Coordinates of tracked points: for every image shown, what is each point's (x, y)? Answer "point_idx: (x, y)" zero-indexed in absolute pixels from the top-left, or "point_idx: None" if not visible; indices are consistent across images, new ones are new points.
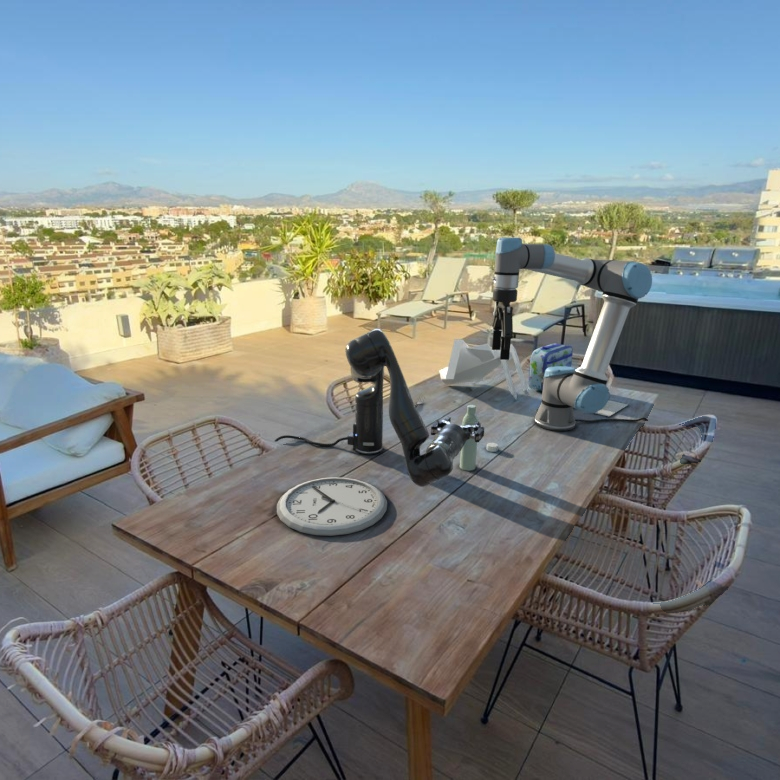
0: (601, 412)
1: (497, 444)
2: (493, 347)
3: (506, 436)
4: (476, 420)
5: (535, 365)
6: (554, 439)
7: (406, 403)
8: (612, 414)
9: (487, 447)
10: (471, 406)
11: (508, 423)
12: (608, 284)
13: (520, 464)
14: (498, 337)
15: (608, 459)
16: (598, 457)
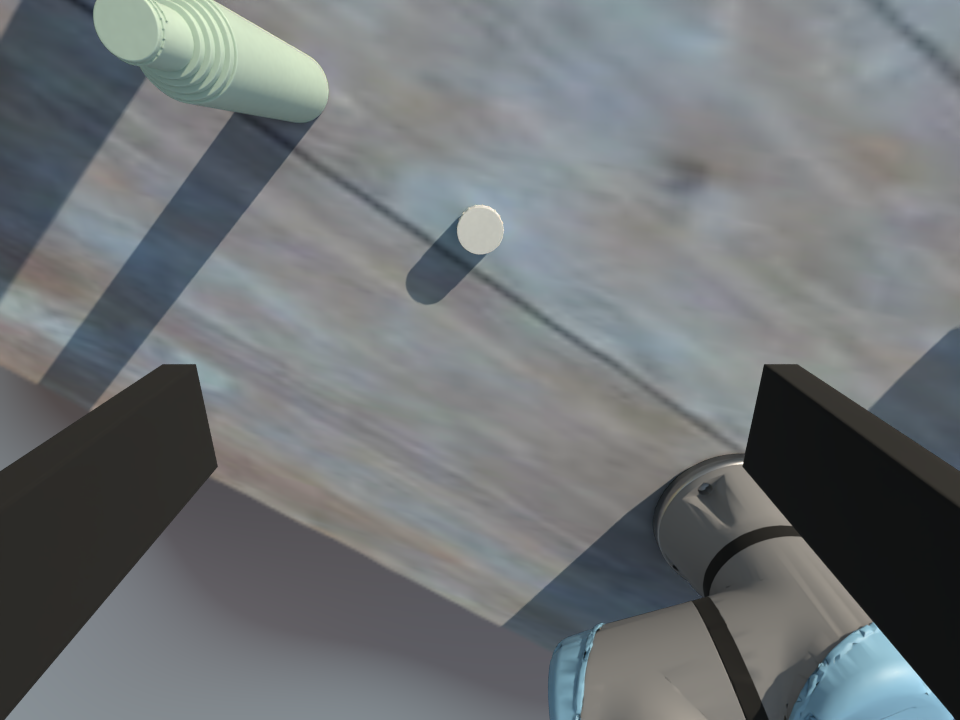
0: None
1: (483, 253)
2: (781, 394)
3: (618, 315)
4: (152, 81)
5: None
6: (581, 477)
7: None
8: None
9: (472, 207)
10: (115, 22)
11: (761, 354)
12: None
13: (352, 310)
14: (877, 564)
15: (421, 578)
16: (434, 558)
